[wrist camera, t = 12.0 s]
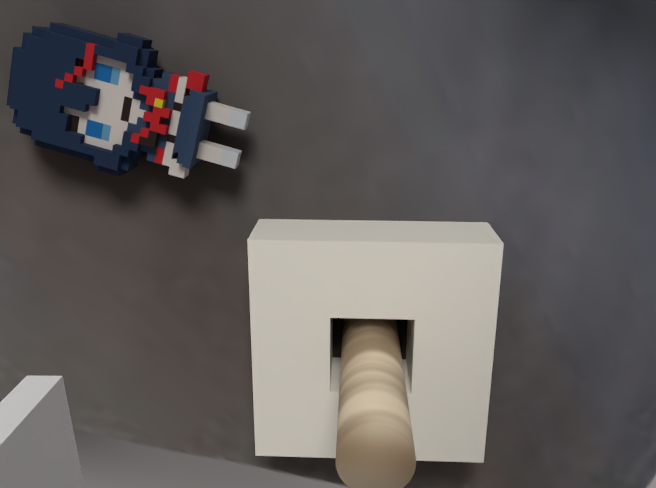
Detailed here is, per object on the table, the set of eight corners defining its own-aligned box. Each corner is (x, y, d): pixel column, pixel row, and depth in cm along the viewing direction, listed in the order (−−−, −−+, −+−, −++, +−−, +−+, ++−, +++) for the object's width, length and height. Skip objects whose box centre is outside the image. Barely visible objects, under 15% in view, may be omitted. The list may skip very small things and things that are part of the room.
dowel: (343, 300, 46) (335, 426, 30) (397, 301, 46) (417, 429, 30) (342, 349, 47) (335, 495, 32) (395, 350, 47) (414, 497, 32)
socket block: (259, 218, 44) (247, 239, 39) (487, 222, 43) (503, 243, 39) (265, 415, 49) (255, 455, 44) (471, 421, 48) (483, 462, 43)
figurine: (222, 210, 40) (-9, 146, 39) (234, 196, 44) (25, 137, 43) (254, 73, 37) (7, 2, 37) (264, 71, 41) (42, 7, 41)
